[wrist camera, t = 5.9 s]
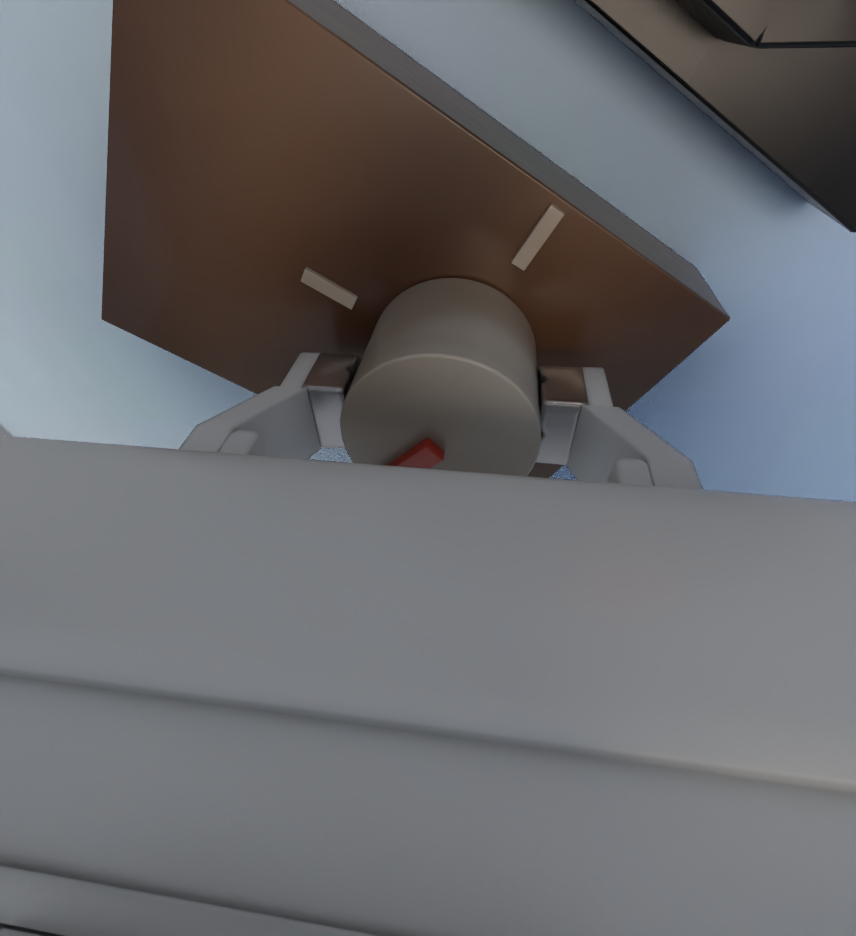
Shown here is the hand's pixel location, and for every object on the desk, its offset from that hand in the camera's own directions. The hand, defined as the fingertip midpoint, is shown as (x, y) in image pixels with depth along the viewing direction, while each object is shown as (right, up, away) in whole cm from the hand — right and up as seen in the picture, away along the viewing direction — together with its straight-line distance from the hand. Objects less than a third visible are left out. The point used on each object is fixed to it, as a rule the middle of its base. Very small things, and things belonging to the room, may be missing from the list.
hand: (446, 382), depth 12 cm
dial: (0, +1, +1) cm, 1 cm away
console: (-1, +4, +2) cm, 5 cm away
